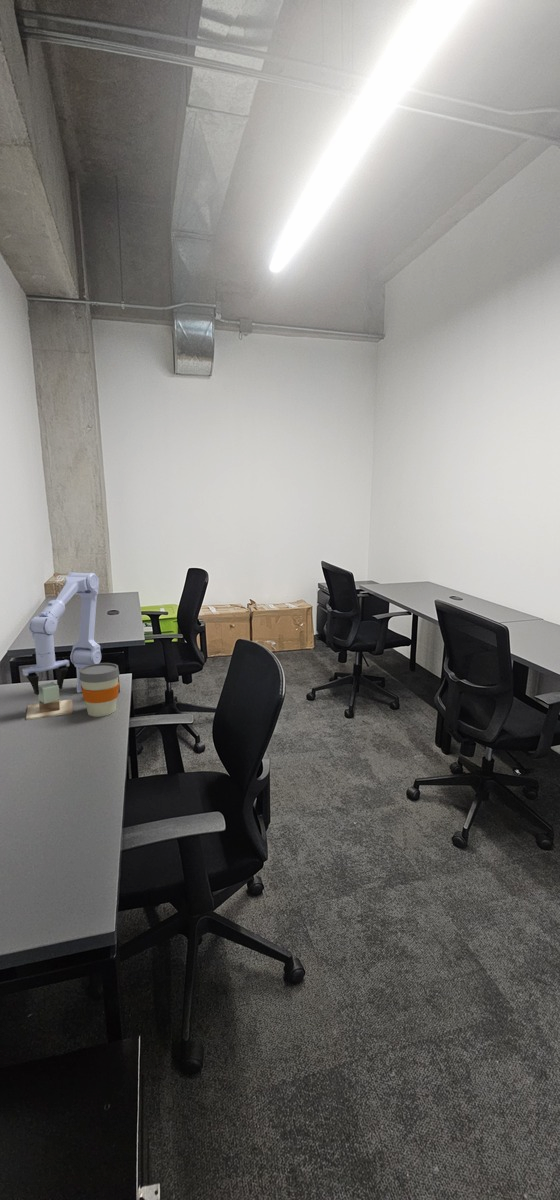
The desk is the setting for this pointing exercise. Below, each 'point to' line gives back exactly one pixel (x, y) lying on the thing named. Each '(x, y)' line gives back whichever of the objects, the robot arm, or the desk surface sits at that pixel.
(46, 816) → the desk surface
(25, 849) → the desk surface
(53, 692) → the sage cube
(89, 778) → the desk surface
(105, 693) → the reusable coffee cup
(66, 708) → the baseplate
